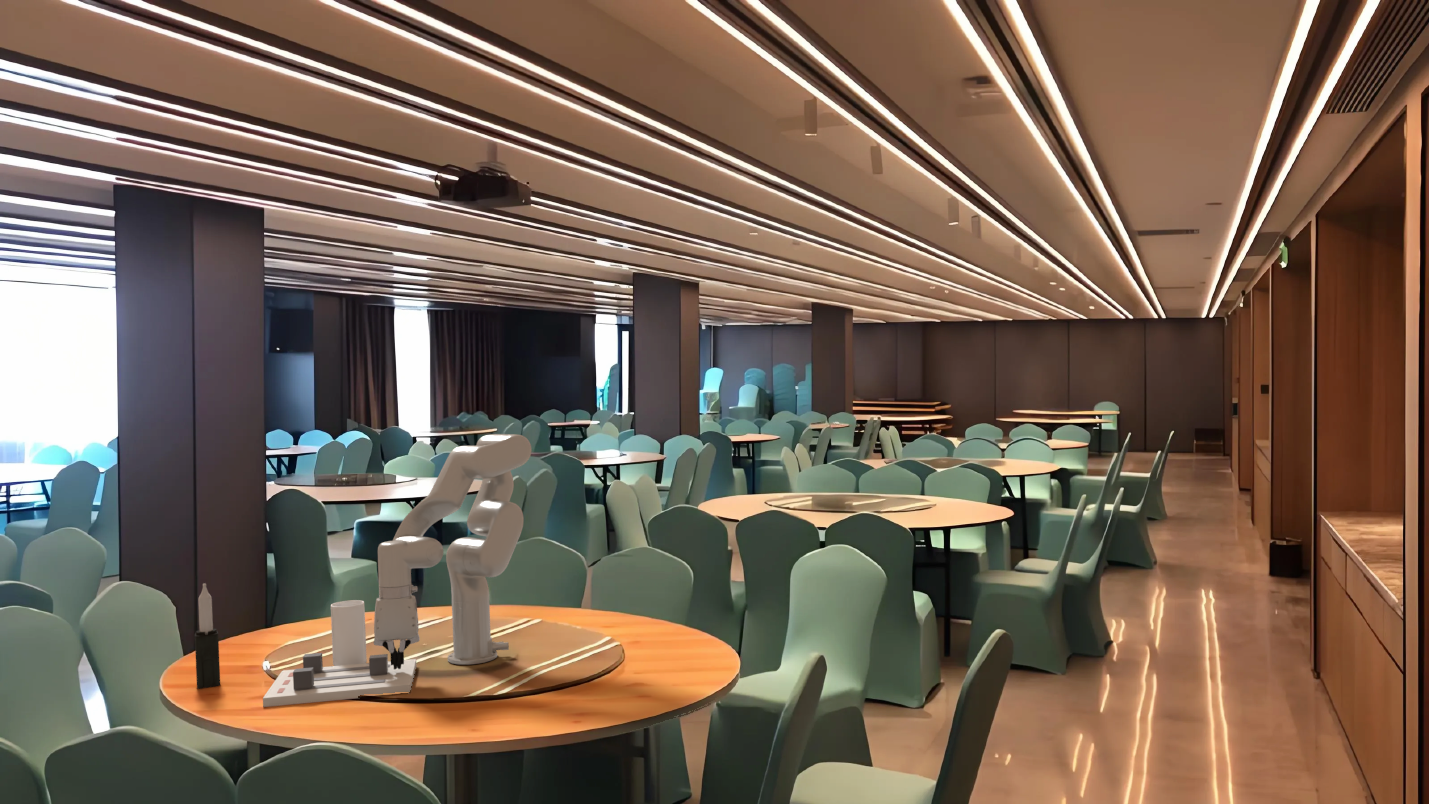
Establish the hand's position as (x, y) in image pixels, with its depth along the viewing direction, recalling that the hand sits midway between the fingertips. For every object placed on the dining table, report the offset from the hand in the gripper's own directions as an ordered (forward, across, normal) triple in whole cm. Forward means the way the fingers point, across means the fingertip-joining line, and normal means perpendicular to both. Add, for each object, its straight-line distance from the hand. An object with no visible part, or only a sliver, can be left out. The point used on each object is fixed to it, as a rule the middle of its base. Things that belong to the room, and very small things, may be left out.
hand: (397, 667), depth 254 cm
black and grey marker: (+4, +45, -13) cm, 47 cm away
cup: (+4, +13, -20) cm, 24 cm away
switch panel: (+3, +12, 0) cm, 13 cm away
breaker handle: (+1, +4, 0) cm, 4 cm away
